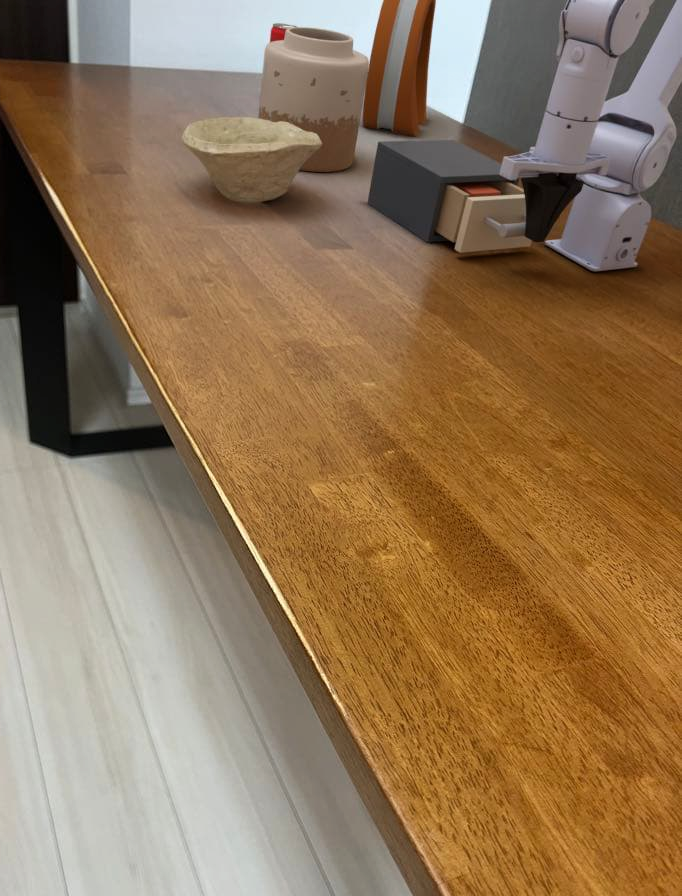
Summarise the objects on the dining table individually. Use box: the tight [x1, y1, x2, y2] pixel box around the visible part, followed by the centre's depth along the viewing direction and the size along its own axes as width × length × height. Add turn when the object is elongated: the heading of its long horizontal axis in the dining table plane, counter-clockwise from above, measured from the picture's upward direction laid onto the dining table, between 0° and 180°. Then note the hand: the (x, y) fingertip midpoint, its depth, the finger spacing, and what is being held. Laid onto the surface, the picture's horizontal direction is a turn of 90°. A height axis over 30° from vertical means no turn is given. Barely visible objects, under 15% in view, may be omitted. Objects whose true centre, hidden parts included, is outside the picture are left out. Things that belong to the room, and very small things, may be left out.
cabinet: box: [367, 139, 520, 244], centre depth 114 cm, size 15×13×8 cm
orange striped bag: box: [362, 0, 437, 137], centre depth 149 cm, size 22×10×23 cm, turn 165°
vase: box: [257, 26, 370, 173], centre depth 127 cm, size 15×15×17 cm
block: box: [451, 182, 501, 197], centre depth 109 cm, size 4×4×4 cm
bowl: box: [181, 116, 322, 205], centre depth 112 cm, size 14×18×15 cm
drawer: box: [435, 180, 533, 254], centre depth 108 cm, size 18×11×6 cm, turn 27°
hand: (534, 239), depth 101 cm, fingers closed, pressing on drawer
